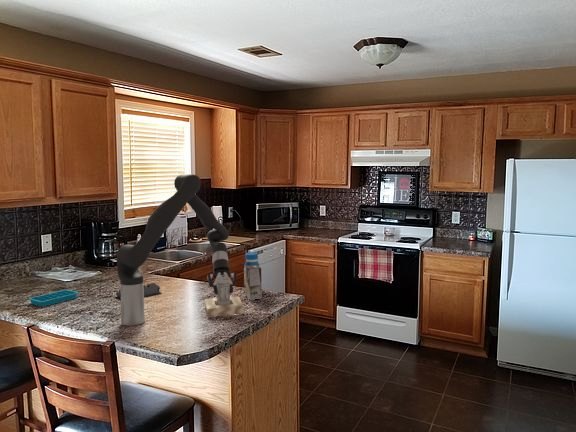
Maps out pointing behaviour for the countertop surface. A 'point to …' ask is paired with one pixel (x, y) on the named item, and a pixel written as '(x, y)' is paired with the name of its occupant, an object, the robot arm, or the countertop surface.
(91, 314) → the countertop surface
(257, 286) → the coffee box
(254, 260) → the beverage bottle
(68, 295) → the ice cube tray
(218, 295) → the energy drink can
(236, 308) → the socket board
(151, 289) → the dark slate chunk
